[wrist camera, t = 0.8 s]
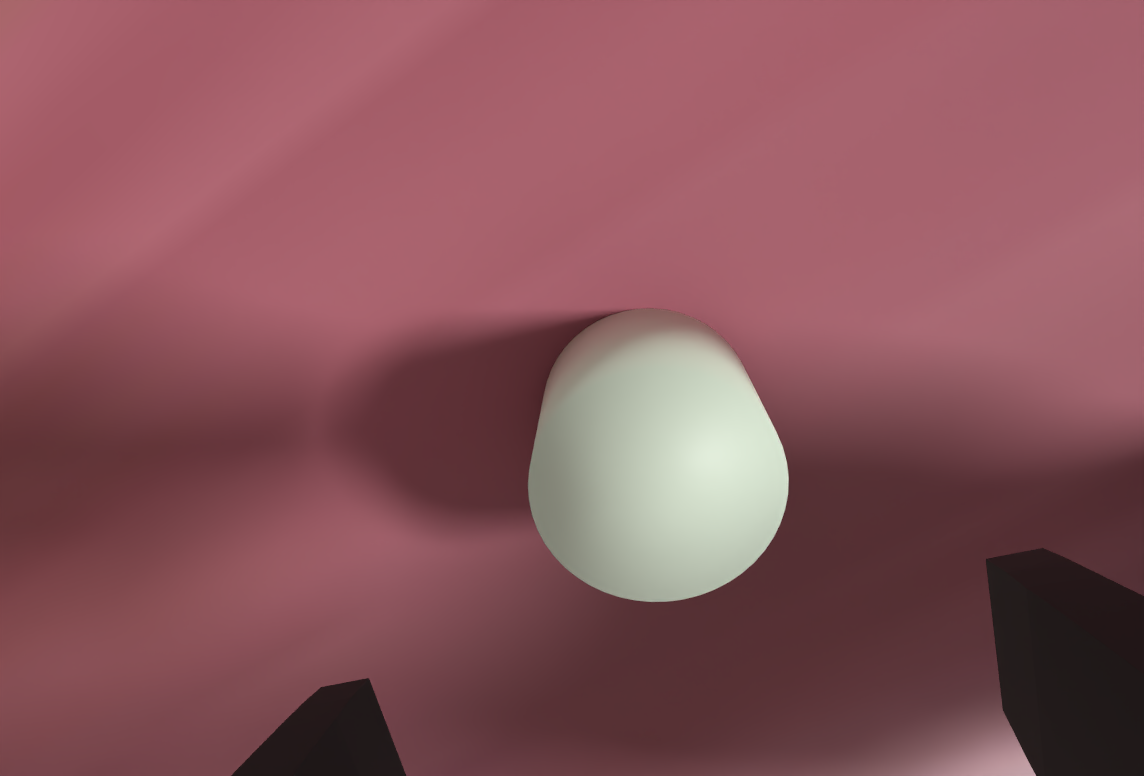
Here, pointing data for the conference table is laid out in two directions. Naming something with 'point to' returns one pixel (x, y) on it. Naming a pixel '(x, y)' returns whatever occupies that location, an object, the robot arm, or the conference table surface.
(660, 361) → the sage capsule
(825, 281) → the conference table surface
